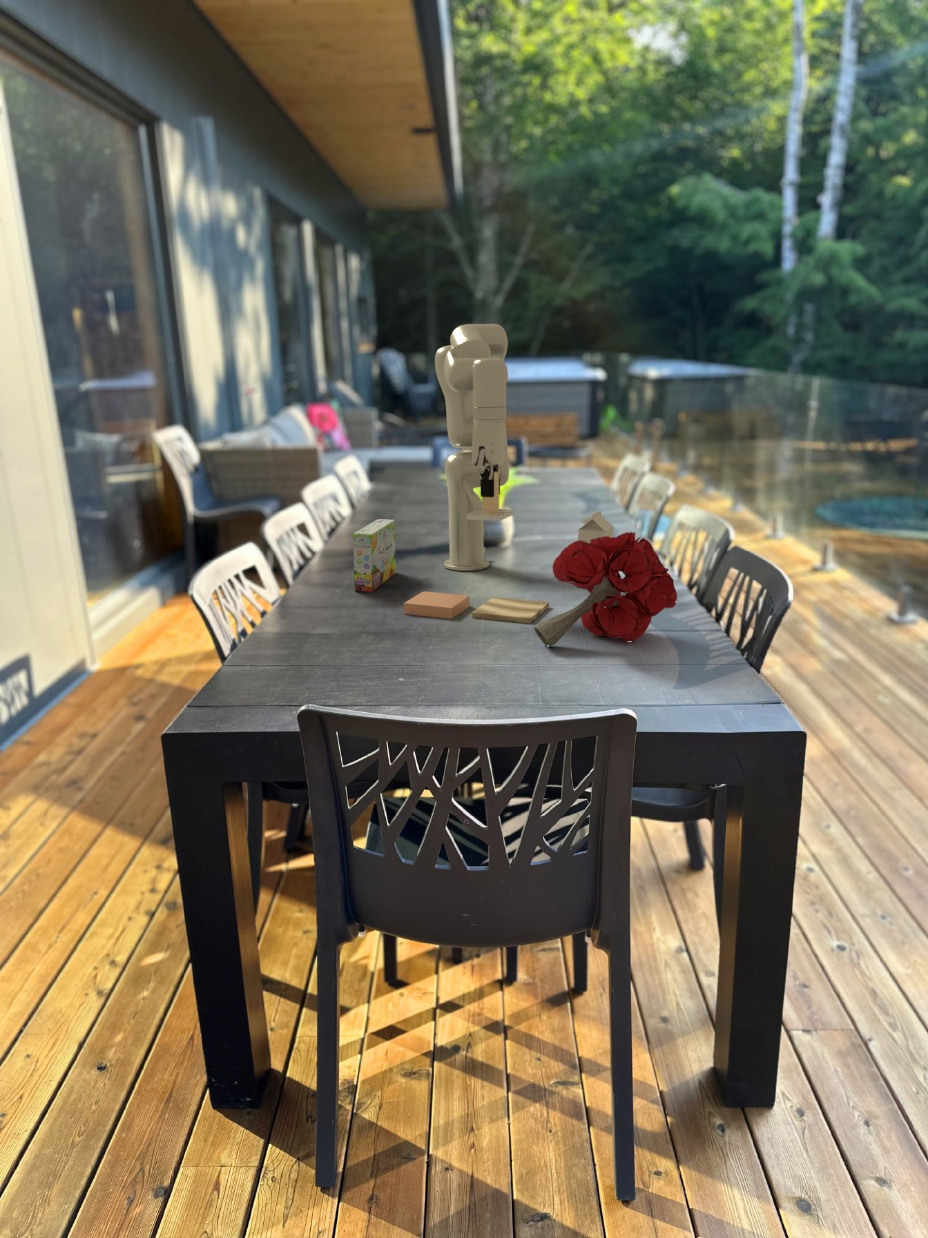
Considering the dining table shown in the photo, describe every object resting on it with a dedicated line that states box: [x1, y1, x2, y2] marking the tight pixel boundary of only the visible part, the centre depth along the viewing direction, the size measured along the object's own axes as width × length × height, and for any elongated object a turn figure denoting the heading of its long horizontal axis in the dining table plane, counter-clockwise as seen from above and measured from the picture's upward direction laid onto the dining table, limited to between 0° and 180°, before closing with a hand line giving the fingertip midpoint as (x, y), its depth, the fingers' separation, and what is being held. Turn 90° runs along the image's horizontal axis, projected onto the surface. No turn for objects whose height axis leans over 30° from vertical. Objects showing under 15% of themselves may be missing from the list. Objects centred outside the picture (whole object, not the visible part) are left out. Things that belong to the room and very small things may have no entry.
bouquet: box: [533, 531, 678, 648], centre depth 185 cm, size 22×24×30 cm
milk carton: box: [577, 509, 614, 543], centre depth 229 cm, size 7×7×19 cm
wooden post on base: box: [467, 471, 515, 522], centre depth 211 cm, size 10×8×10 cm
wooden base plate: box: [471, 596, 550, 624], centre depth 210 cm, size 14×14×1 cm
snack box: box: [352, 518, 397, 593], centre depth 237 cm, size 21×6×15 cm, turn 168°
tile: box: [403, 591, 470, 620], centre depth 212 cm, size 3×12×11 cm
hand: (490, 494), depth 211 cm, fingers closed on wooden post on base, 3 cm apart
